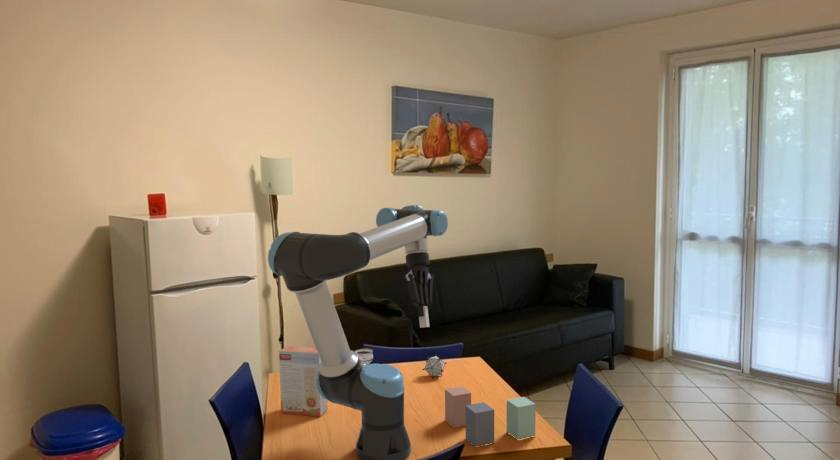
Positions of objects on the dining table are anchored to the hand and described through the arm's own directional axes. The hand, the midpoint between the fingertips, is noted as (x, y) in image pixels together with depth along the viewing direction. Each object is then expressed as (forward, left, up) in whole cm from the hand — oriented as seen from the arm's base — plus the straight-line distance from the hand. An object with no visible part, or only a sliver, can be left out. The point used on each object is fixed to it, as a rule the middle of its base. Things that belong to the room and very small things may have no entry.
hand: (424, 327), depth 180 cm
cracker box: (-9, +39, -29) cm, 49 cm away
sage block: (-6, -31, -29) cm, 42 cm away
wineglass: (+21, +30, -29) cm, 46 cm away
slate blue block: (-13, -20, -29) cm, 37 cm away
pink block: (-3, -11, -29) cm, 31 cm away
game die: (+35, +7, -29) cm, 46 cm away
